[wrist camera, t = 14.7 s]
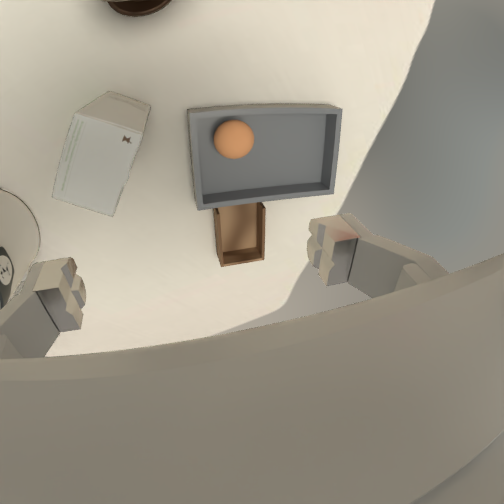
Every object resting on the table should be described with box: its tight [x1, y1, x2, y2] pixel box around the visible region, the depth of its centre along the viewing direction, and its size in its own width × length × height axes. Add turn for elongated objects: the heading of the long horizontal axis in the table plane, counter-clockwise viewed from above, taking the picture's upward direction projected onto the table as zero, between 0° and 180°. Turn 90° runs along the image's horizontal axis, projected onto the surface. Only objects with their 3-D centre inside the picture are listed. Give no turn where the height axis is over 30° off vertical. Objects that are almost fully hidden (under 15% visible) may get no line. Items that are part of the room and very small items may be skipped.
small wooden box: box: [213, 202, 265, 267], centre depth 45 cm, size 7×9×4 cm
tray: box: [187, 104, 342, 210], centre depth 39 cm, size 20×13×4 cm, turn 91°
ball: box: [214, 120, 254, 159], centre depth 35 cm, size 5×5×5 cm
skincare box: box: [52, 91, 151, 217], centre depth 27 cm, size 8×7×16 cm
